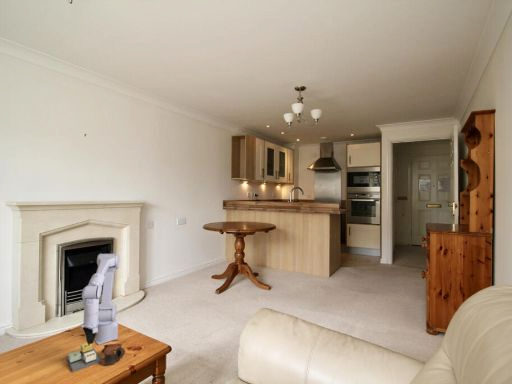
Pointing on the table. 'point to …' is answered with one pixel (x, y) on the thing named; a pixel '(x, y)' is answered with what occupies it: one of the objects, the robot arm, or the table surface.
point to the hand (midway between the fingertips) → (90, 343)
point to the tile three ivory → (89, 356)
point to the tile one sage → (74, 356)
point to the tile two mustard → (86, 347)
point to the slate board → (83, 361)
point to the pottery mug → (112, 354)
